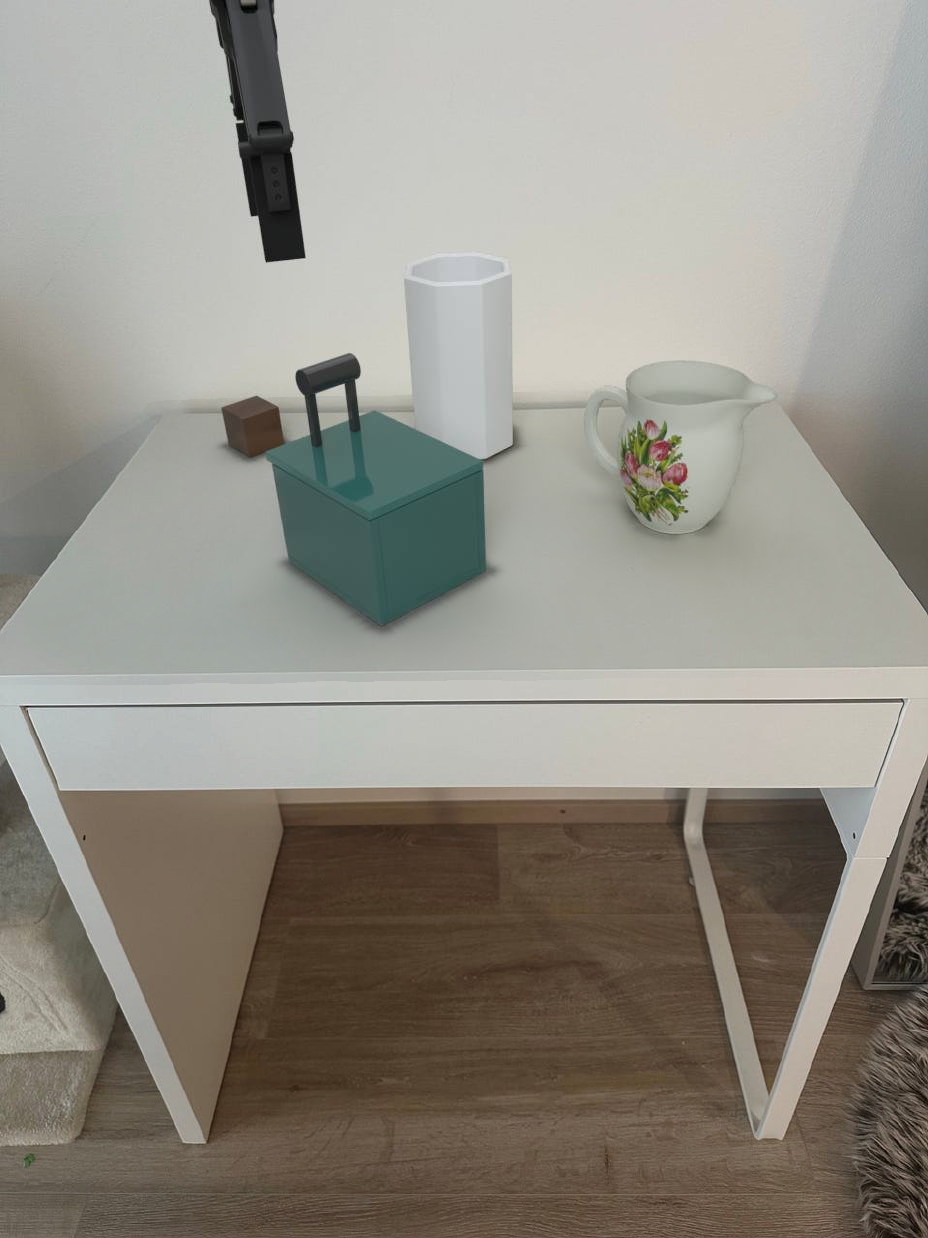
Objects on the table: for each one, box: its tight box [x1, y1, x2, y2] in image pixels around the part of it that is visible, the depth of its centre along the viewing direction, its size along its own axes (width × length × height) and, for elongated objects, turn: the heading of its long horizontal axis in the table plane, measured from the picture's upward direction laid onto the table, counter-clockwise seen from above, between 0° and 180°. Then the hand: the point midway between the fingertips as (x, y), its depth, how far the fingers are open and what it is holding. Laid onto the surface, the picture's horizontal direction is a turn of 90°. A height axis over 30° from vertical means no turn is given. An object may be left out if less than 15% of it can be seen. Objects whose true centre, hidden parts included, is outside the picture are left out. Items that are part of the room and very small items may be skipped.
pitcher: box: [583, 359, 779, 535], centre depth 84 cm, size 11×18×14 cm, turn 51°
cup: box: [403, 251, 514, 461], centre depth 97 cm, size 11×11×18 cm
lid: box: [264, 352, 484, 521], centre depth 75 cm, size 14×12×8 cm
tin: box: [271, 463, 487, 627], centre depth 80 cm, size 14×12×10 cm
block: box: [220, 395, 285, 458], centre depth 102 cm, size 4×4×4 cm
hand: (275, 235), depth 69 cm, fingers open, 13 cm apart
